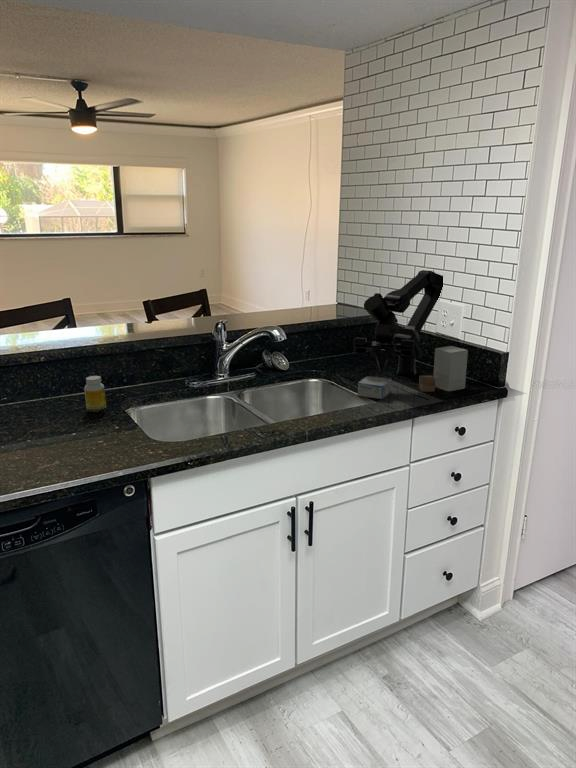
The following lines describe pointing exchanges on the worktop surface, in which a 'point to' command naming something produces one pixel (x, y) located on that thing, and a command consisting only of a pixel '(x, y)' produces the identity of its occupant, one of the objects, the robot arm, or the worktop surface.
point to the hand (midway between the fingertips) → (381, 370)
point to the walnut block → (427, 383)
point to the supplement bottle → (94, 393)
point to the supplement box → (450, 368)
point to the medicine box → (374, 387)
